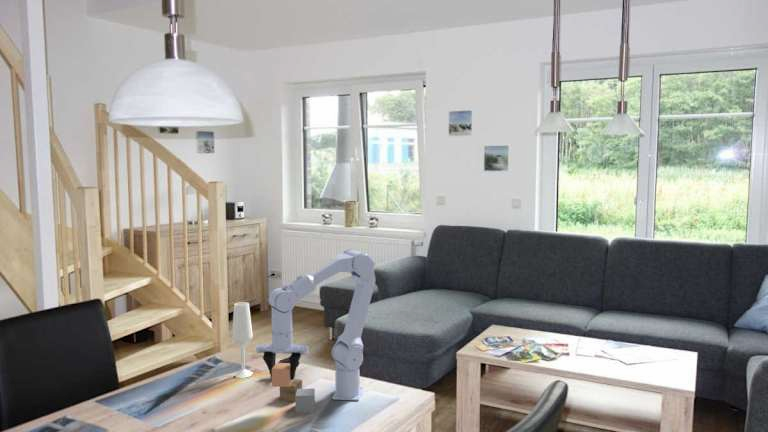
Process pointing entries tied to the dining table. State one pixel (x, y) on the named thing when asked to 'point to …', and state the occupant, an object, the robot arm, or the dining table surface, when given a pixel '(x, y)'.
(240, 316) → the champagne flute
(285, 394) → the walnut block
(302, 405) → the slate grey block
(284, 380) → the terracotta block
